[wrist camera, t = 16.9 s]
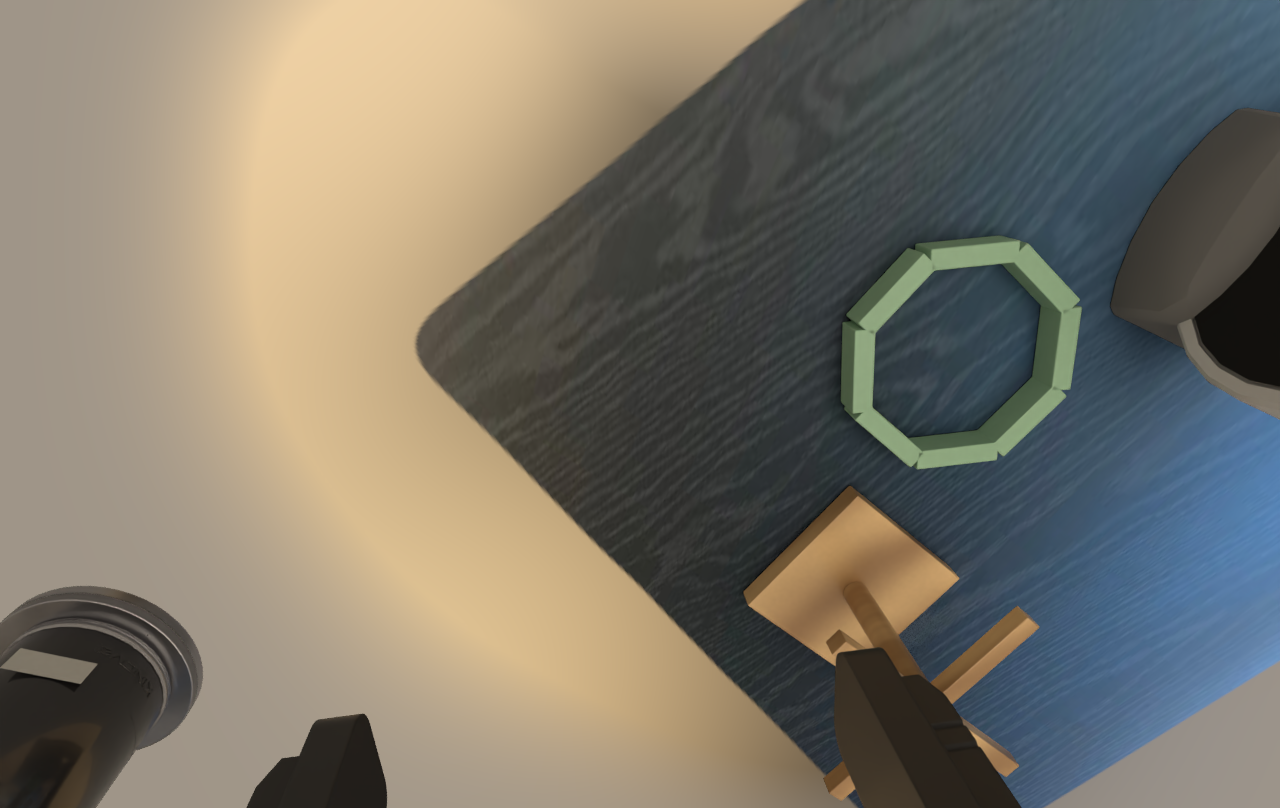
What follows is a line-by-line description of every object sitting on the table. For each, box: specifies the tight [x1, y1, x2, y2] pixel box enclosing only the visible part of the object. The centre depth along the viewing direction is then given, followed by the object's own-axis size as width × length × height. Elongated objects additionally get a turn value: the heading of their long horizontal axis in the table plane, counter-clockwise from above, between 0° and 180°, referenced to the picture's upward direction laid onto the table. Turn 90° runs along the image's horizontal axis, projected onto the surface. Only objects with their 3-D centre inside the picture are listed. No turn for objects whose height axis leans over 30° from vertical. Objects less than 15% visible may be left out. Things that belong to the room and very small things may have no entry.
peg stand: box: [743, 485, 1039, 801], centre depth 43 cm, size 14×14×13 cm
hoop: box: [841, 235, 1082, 469], centre depth 42 cm, size 13×13×2 cm
